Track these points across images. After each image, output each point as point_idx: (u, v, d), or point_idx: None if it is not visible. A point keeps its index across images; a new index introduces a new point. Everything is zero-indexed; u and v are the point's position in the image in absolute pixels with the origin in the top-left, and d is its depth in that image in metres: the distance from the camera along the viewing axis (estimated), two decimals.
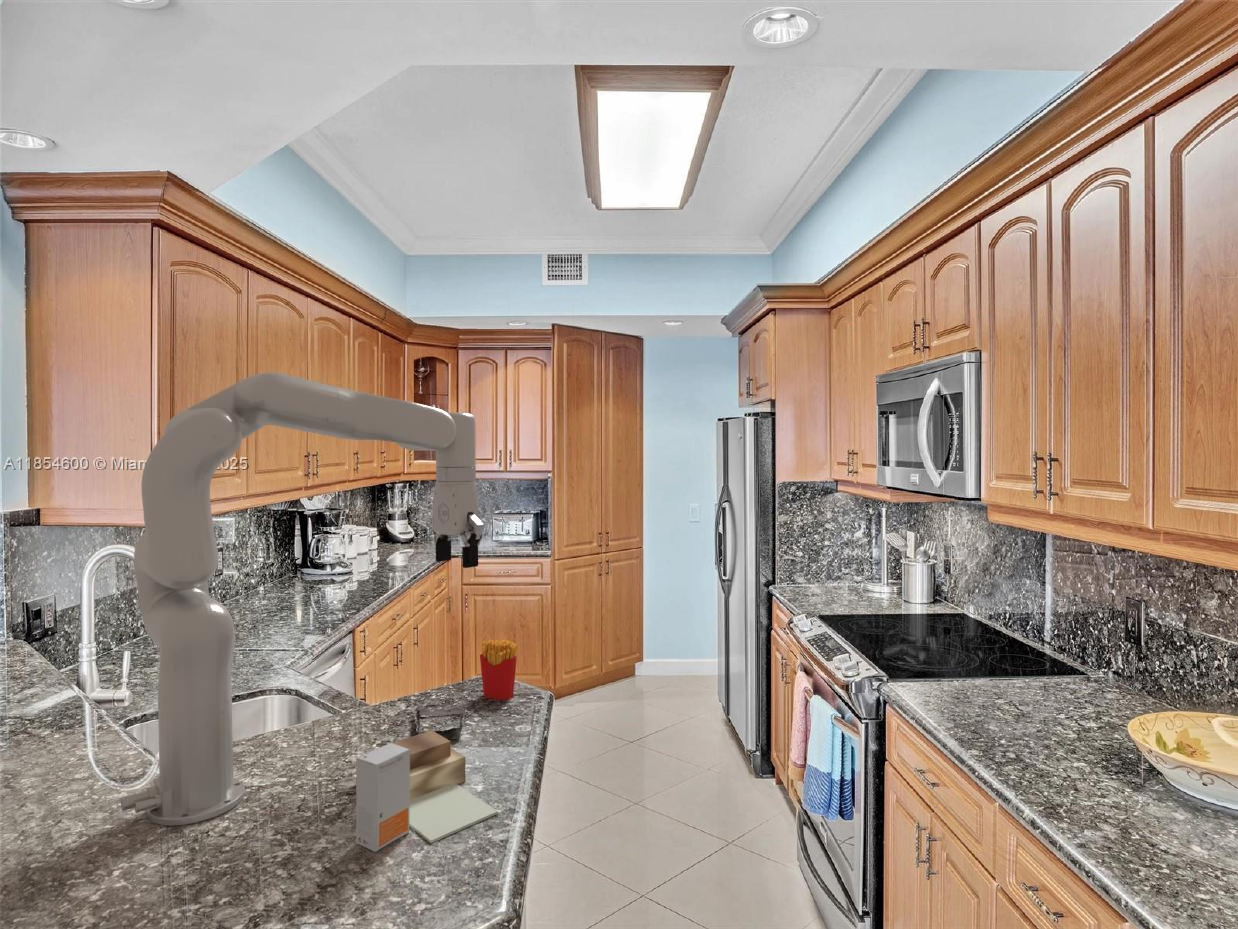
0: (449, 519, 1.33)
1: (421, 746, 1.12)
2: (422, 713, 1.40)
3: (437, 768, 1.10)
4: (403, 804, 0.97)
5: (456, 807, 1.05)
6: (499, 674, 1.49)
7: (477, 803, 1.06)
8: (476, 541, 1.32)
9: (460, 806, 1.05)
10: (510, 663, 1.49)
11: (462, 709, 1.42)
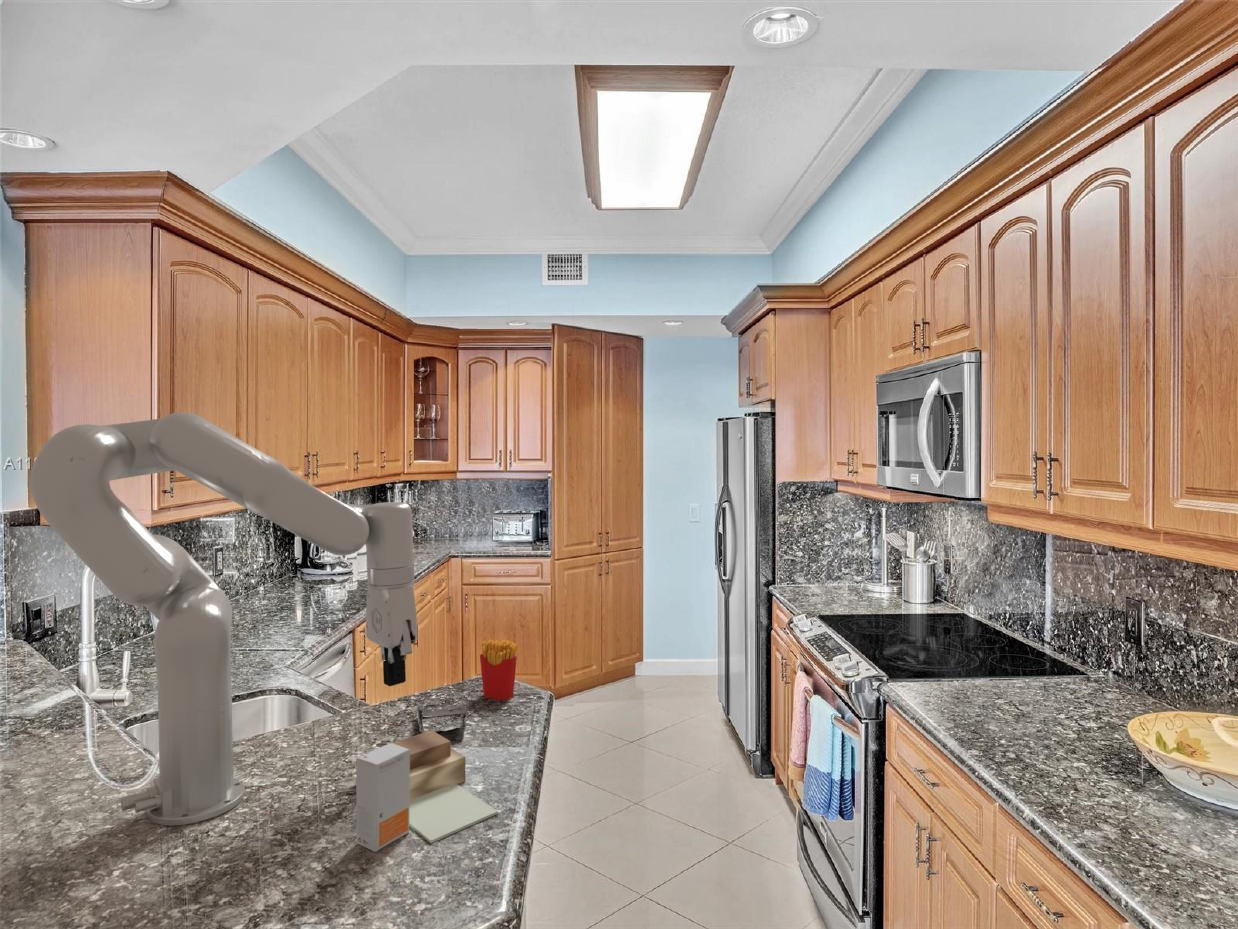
0: (382, 629, 1.15)
1: (421, 746, 1.12)
2: (424, 713, 1.40)
3: (437, 768, 1.10)
4: (403, 804, 0.97)
5: (456, 807, 1.05)
6: (499, 674, 1.49)
7: (477, 803, 1.06)
8: (401, 656, 1.17)
9: (460, 806, 1.05)
10: (510, 663, 1.49)
11: (464, 709, 1.42)
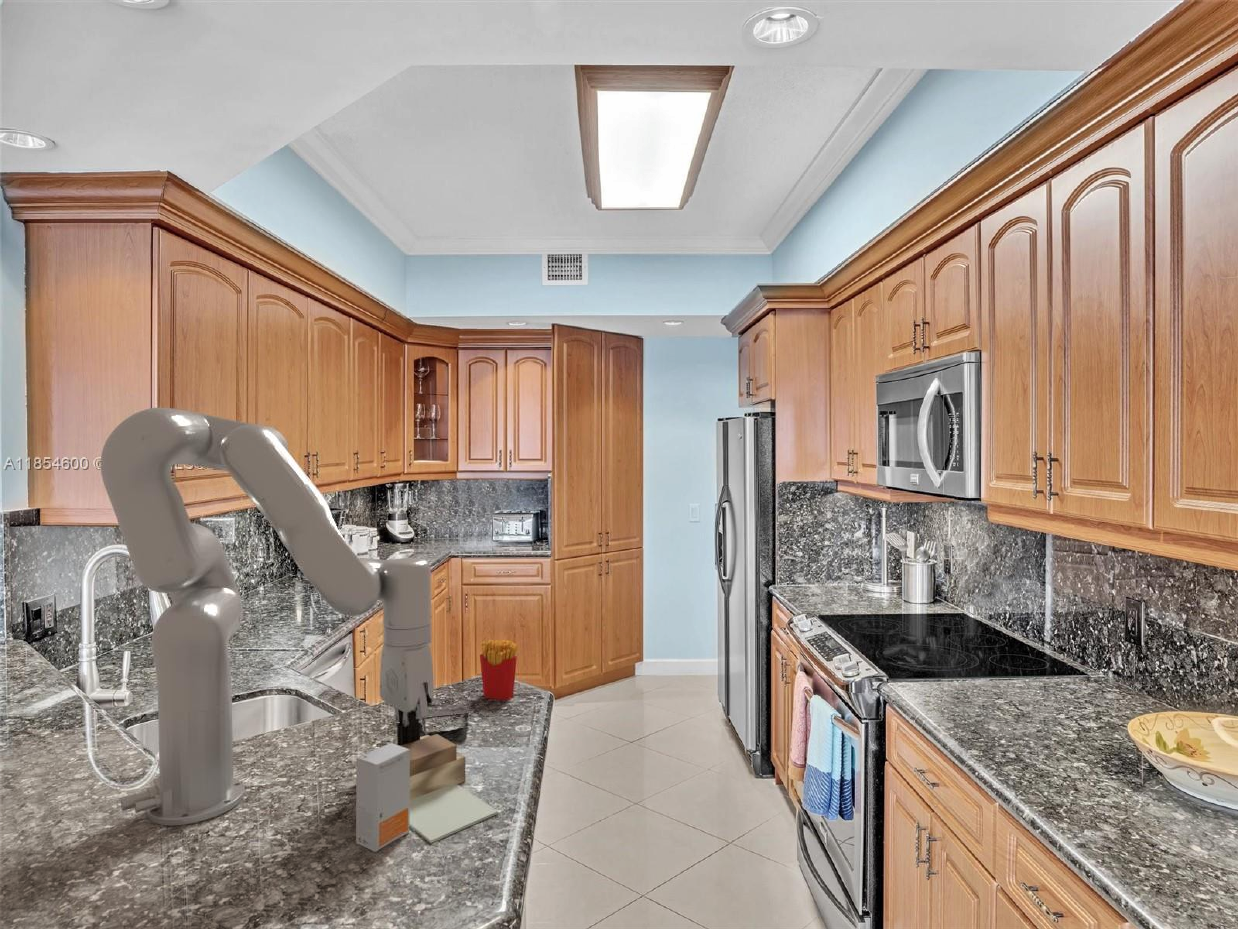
0: (398, 691, 1.11)
1: (426, 750, 1.10)
2: None
3: (437, 768, 1.10)
4: (403, 804, 0.97)
5: (456, 807, 1.05)
6: (499, 674, 1.49)
7: (477, 803, 1.06)
8: (416, 719, 1.13)
9: (460, 806, 1.05)
10: (510, 663, 1.49)
11: (466, 709, 1.42)
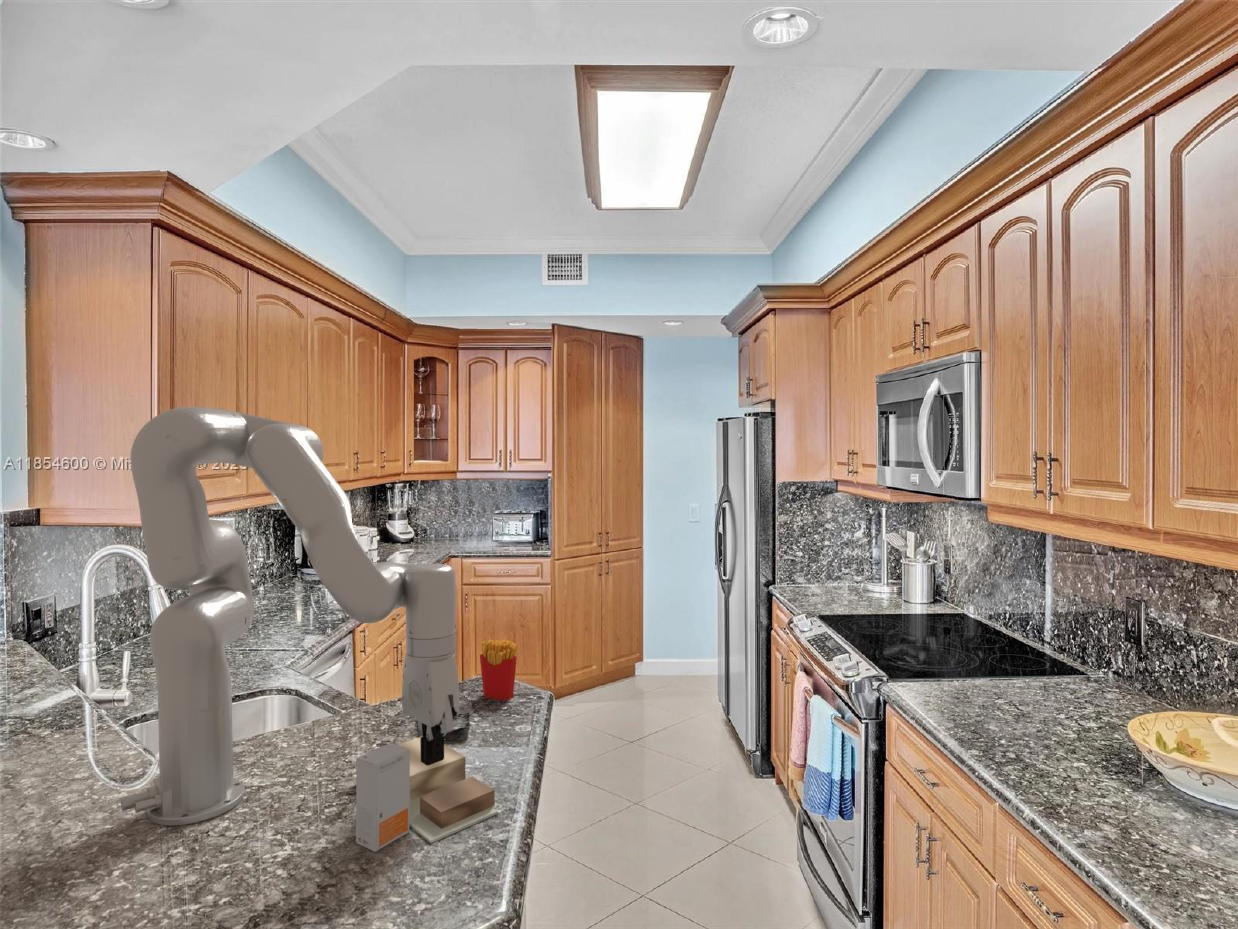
0: (422, 704, 1.05)
1: None
2: None
3: (437, 768, 1.10)
4: (403, 804, 0.97)
5: None
6: (499, 674, 1.49)
7: None
8: (441, 733, 1.07)
9: None
10: (510, 663, 1.49)
11: (467, 709, 1.42)
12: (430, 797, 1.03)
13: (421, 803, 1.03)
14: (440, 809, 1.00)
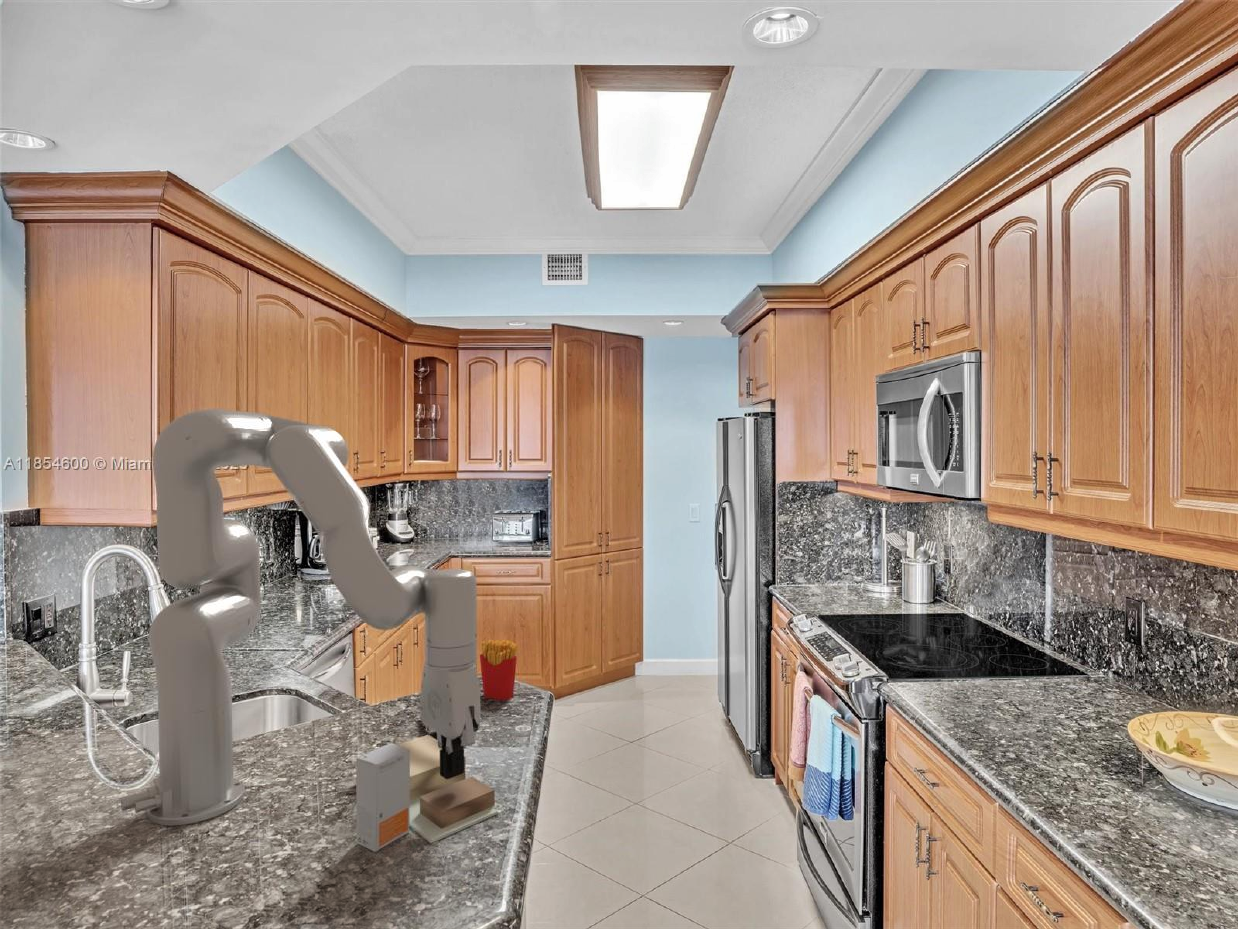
0: (442, 715, 1.01)
1: None
2: None
3: (437, 768, 1.10)
4: (403, 804, 0.97)
5: None
6: (499, 674, 1.49)
7: None
8: (461, 746, 1.03)
9: None
10: (510, 663, 1.49)
11: None
12: (430, 797, 1.03)
13: (421, 803, 1.03)
14: (440, 809, 1.00)
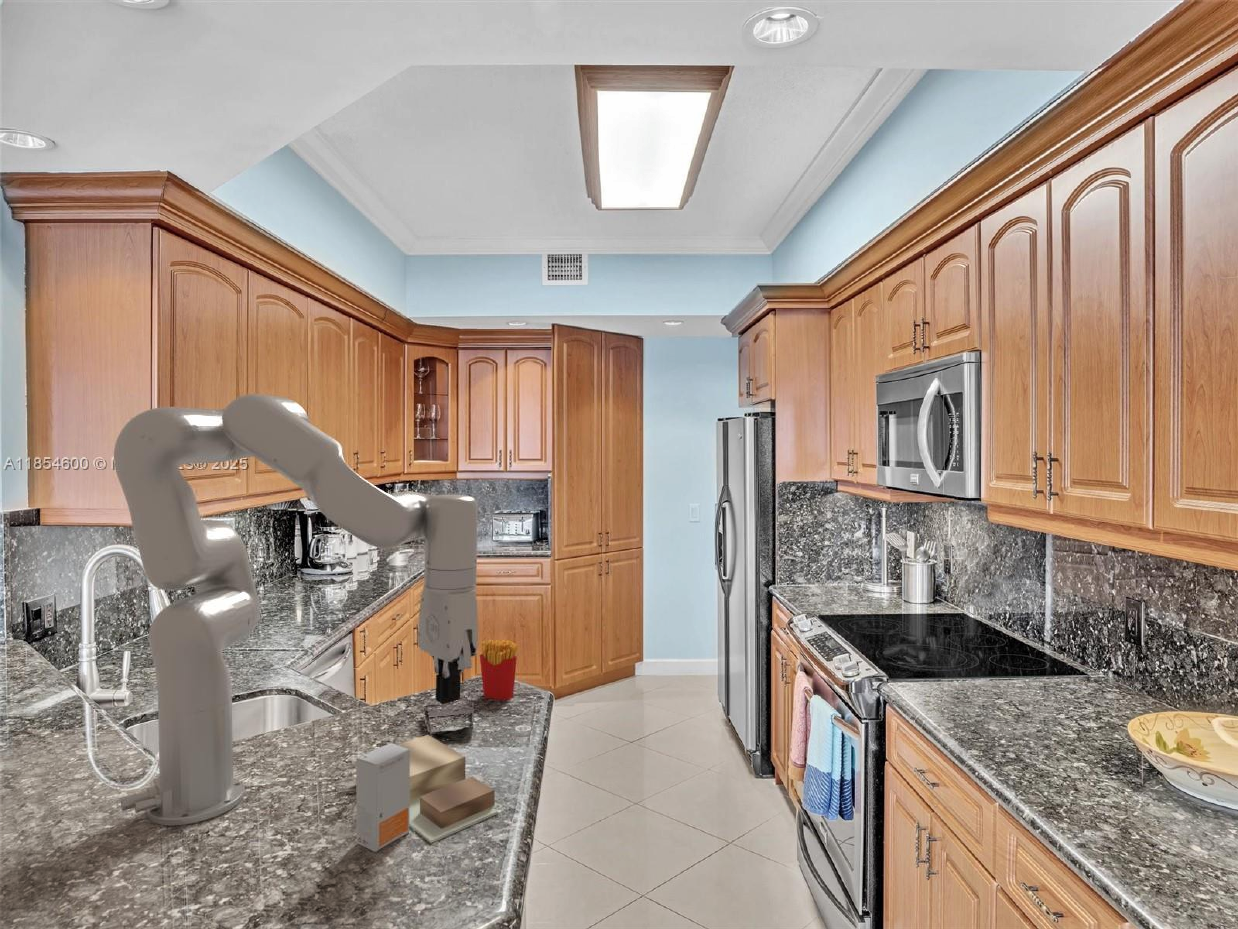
0: (440, 638, 1.01)
1: None
2: (430, 713, 1.40)
3: (437, 768, 1.10)
4: (403, 804, 0.97)
5: None
6: (499, 674, 1.49)
7: None
8: (458, 670, 1.03)
9: None
10: (510, 663, 1.49)
11: (469, 708, 1.42)
12: (430, 797, 1.03)
13: (421, 803, 1.03)
14: (440, 809, 1.00)
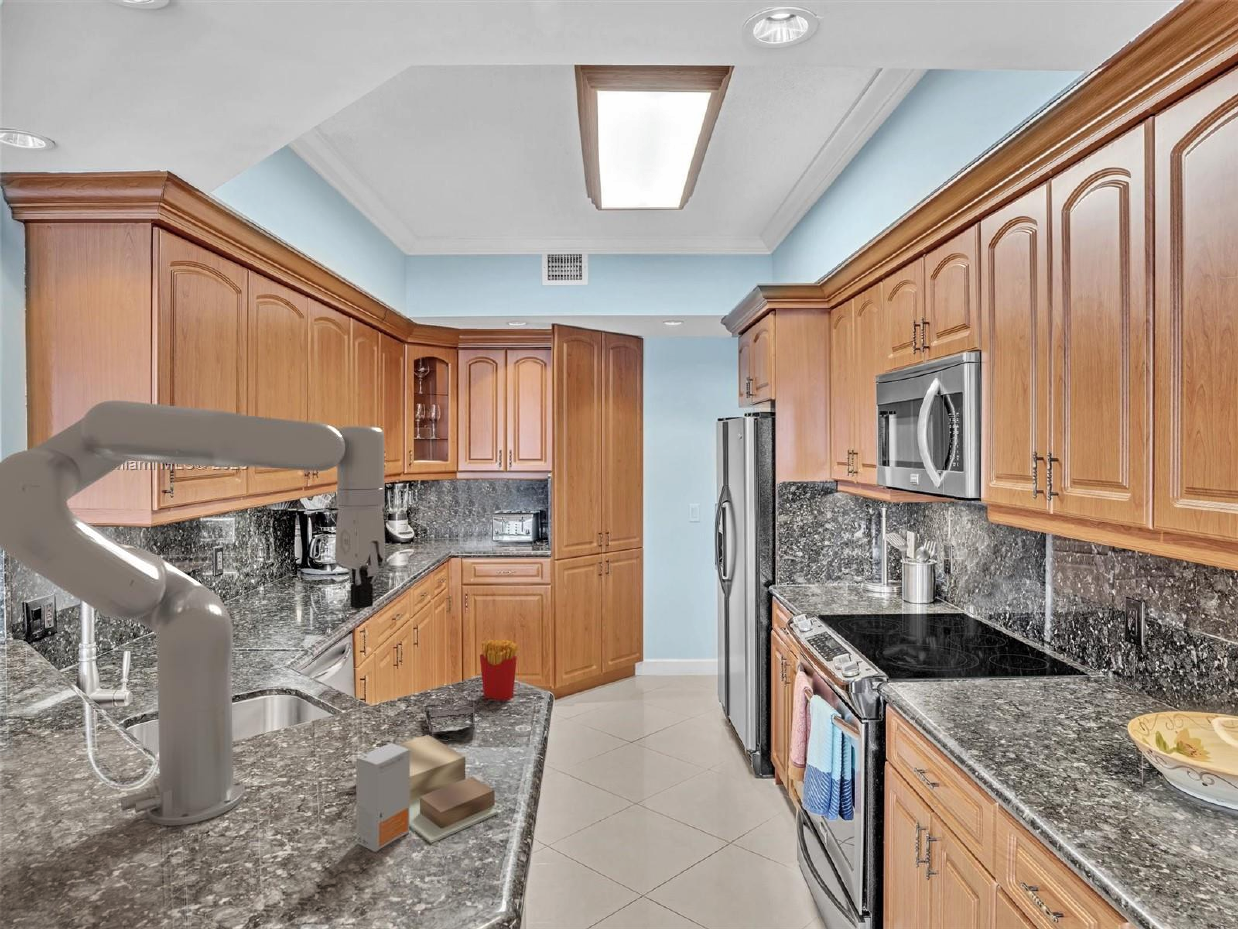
0: (350, 549, 1.15)
1: None
2: (431, 713, 1.40)
3: (437, 768, 1.10)
4: (403, 804, 0.97)
5: None
6: (499, 674, 1.49)
7: None
8: (368, 579, 1.17)
9: None
10: (510, 663, 1.49)
11: (471, 708, 1.42)
12: (430, 797, 1.03)
13: (421, 803, 1.03)
14: (440, 809, 1.00)
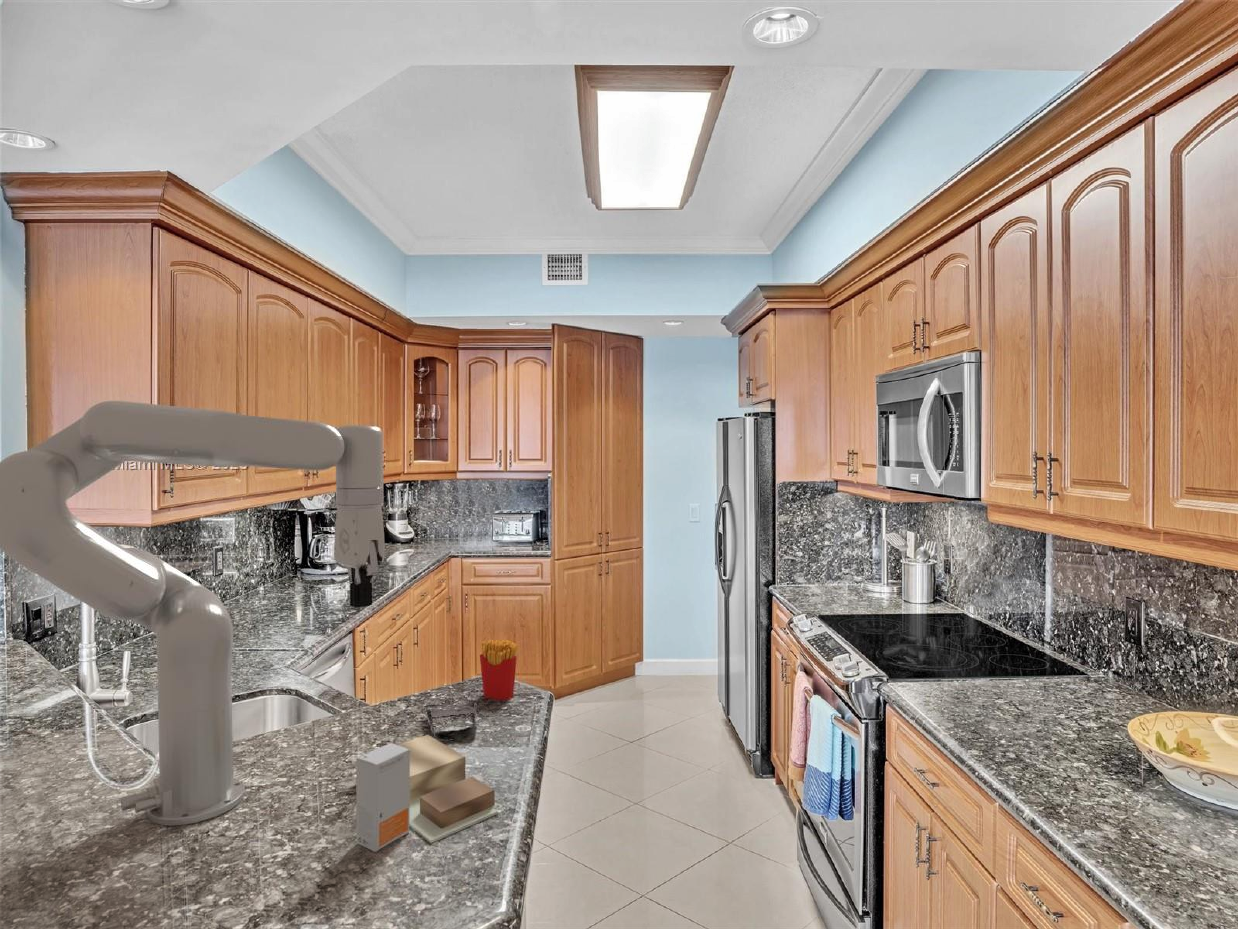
0: (349, 548, 1.16)
1: None
2: (432, 713, 1.40)
3: (437, 768, 1.10)
4: (403, 804, 0.97)
5: None
6: (499, 674, 1.49)
7: None
8: (368, 578, 1.17)
9: None
10: (510, 663, 1.49)
11: (472, 708, 1.42)
12: (430, 797, 1.03)
13: (421, 803, 1.03)
14: (440, 809, 1.00)
